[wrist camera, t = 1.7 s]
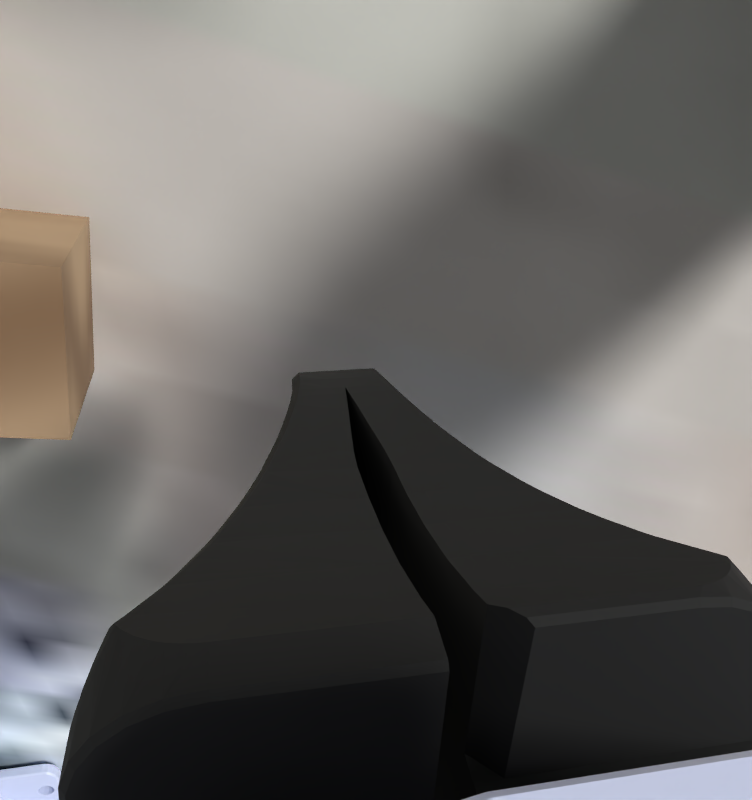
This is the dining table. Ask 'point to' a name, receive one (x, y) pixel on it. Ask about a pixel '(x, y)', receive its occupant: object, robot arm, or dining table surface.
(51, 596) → the dining table surface
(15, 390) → the tan block
